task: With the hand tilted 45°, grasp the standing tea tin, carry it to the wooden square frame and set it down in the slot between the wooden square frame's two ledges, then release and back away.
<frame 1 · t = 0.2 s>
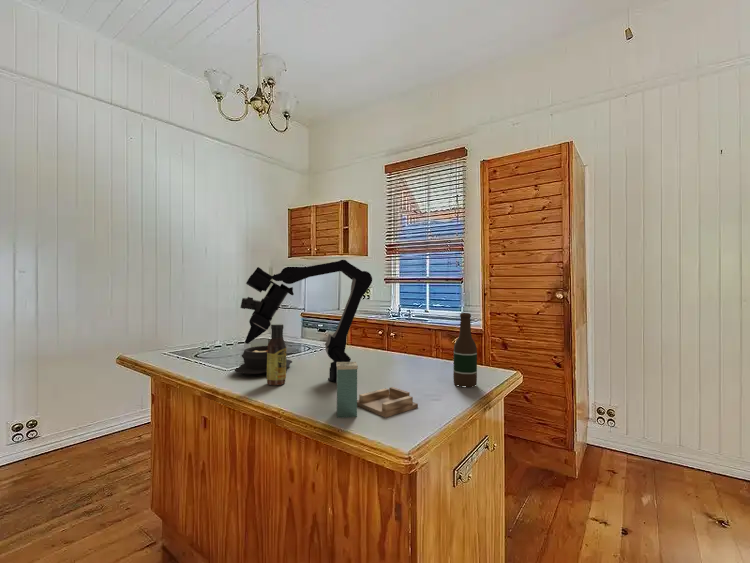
hand: (246, 340, 125), 15 cm above the table, tool tilted 30°, fingers open, 9 cm apart
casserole: (264, 371, 146), on the table
beer bottle: (464, 385, 127), on the table
sauce bottle: (276, 384, 127), on the table
tea tin: (346, 413, 99), on the table
wooden square frame: (385, 405, 105), on the table
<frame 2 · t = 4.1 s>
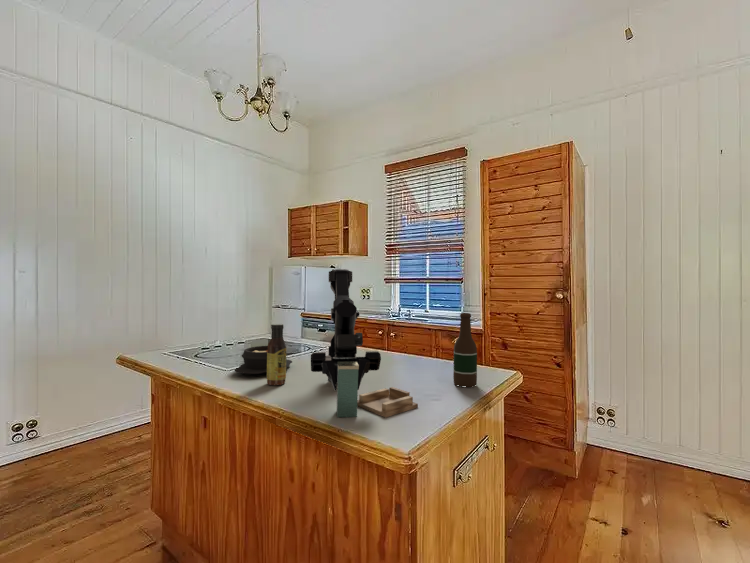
hand: (346, 389, 98), 7 cm above the table, tool tilted 45°, fingers closed on tea tin, 5 cm apart
tea tin: (346, 413, 99), on the table, touching gripper
everything else where it was.
when the fingers open (10 cm above the table, at t = 7.7 s): tea tin stays where it is, resting on wooden square frame.
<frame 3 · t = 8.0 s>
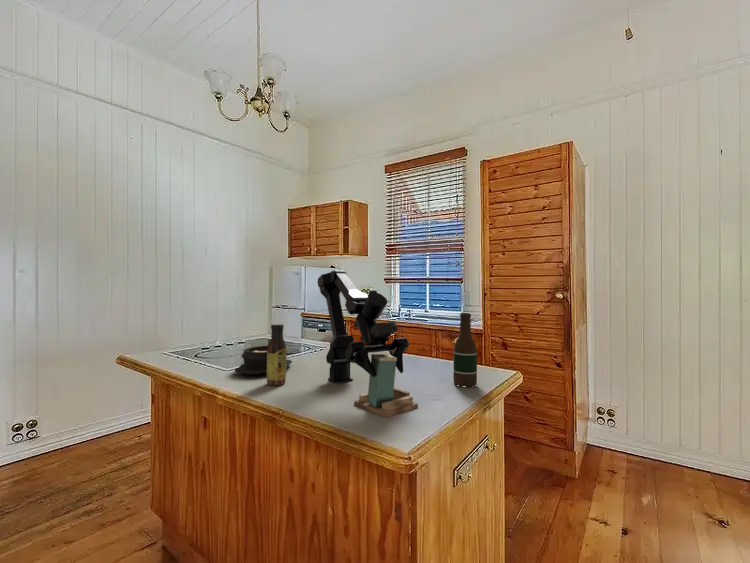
hand: (388, 374, 104), 9 cm above the table, tool tilted 45°, fingers open, 9 cm apart
tea tin: (379, 403, 103), point 1 cm above the table, tilted 5°, touching gripper, wooden square frame
everything else where it was.
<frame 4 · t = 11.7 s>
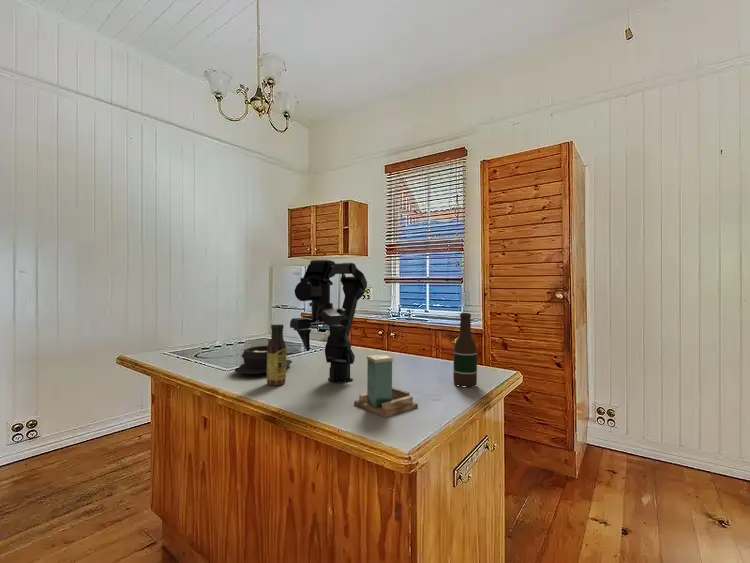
hand: (320, 349, 120), 13 cm above the table, tool pointing down, fingers open, 9 cm apart
tea tin: (379, 404, 103), point 1 cm above the table, touching wooden square frame
everything else where it was.
at the end: tea tin inside the target area on the wooden square frame (2.7 cm from its centre), point 1.0 cm above the wooden square frame's base; tea tin tilted 0°; the gripper is holding nothing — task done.
